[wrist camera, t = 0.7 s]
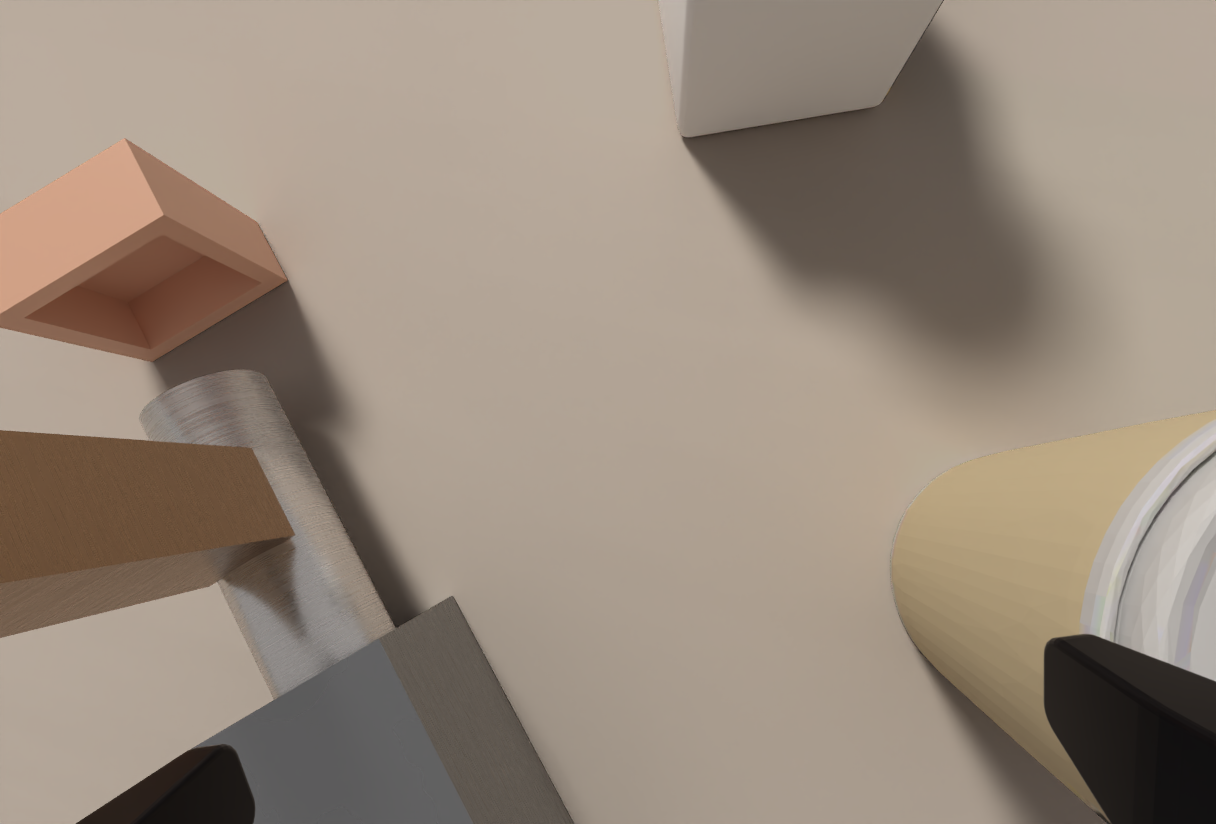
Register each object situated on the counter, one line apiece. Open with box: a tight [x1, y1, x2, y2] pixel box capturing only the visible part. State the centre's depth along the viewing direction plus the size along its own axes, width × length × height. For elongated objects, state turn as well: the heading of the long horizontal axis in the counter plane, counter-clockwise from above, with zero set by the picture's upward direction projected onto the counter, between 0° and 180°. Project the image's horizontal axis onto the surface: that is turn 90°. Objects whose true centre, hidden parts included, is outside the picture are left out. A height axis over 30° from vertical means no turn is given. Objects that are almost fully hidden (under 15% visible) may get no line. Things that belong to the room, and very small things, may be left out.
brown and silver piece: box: [0, 370, 396, 700], centre depth 15 cm, size 18×4×12 cm, turn 30°
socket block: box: [0, 138, 287, 362], centre depth 21 cm, size 3×6×6 cm, turn 120°
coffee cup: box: [890, 410, 1216, 824], centre depth 15 cm, size 9×9×12 cm
